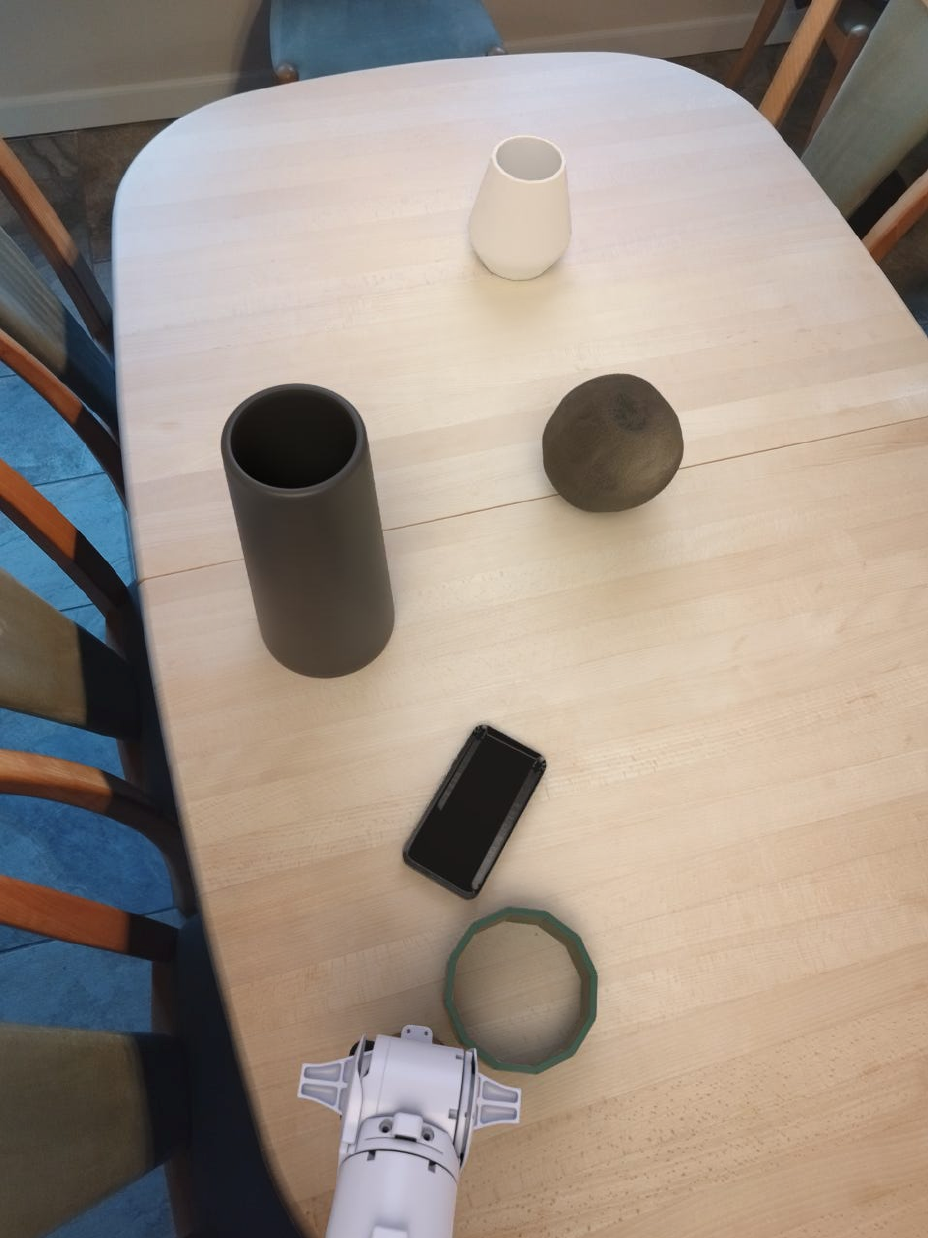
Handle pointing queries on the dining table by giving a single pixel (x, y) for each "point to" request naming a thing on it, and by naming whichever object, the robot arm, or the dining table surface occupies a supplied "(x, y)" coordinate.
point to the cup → (522, 209)
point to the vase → (309, 528)
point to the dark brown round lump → (612, 444)
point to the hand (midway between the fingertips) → (410, 1088)
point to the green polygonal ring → (580, 962)
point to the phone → (474, 812)
